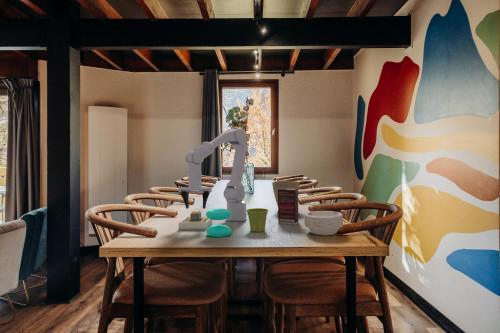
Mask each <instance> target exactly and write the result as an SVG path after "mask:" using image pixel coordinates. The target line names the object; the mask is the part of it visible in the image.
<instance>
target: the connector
mask: <svg viewBox="0 0 500 333" xmlns="http://www.w3.org/2000/svg"><path fill="white" fill-rule="evenodd" d="M189 215H190V216H189V217H190V221H201V217H202V212H201V210H193V211H191V212H190V214H189Z"/></svg>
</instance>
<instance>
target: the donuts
mask: <svg viewBox="0 0 500 333" xmlns="http://www.w3.org/2000/svg"><path fill="white" fill-rule="evenodd" d="M205 215H206V216H205V217H207V218H209V219H211V220H212V221H224V220H225V219H227V218H229V217H230V215H231V212H230V210H228V209H227V208H211V209H208V210H207V211H206V213H205ZM205 231H206V235H207V236H209V237H211V238H223V237H227V236H229V235H231V233H232V229H231V227H230V226H228V225H227V224H211V225H210V227H208V228H207V230H205Z"/></svg>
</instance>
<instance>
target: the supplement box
mask: <svg viewBox="0 0 500 333" xmlns="http://www.w3.org/2000/svg"><path fill="white" fill-rule="evenodd" d="M277 216H278V217H277V220H278V224H282V225H298V224H299V220H300V219H299V190H298V189H285V188H280V189H278V205H277Z"/></svg>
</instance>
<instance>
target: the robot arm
mask: <svg viewBox="0 0 500 333" xmlns="http://www.w3.org/2000/svg"><path fill="white" fill-rule="evenodd" d="M247 138H248V134H247V132H246V131H245V130H244V129H243V128H241V127H239V128H230V129H229V128H228V129H226V130H224V131H223V132H222V133H220V134H219V135H218V136H216V137H215V138H214V139H213V140H211V141H203V142H201V145H199V146H198V147H194V150H190V151H188V152H186V155H185V156H184V158H185V159H184V160H185V162H186V163H187V175H188V176H187V177H188V187H184V186H183V187H178V193H180V196H181V198H182V200H183V202H184V205H185V209H189V208H190V205H189V204H190V202H189V198H190V197H189V195H190V193H201V194H202V195H201V196H202V209H206V208H207V207H206V206H207V201H208V200H209V196H210V194H211V193H212V192H213V190H212V189H213V188H212V187H210V186H209V187H207V186H206V187H205V186H203V184H202V180H203V179H202V163H203V162H204V161H205V160H204V159H206V158H207V157H209V156H210V155H212V154H213V153H214V152H215V149H216V148H217V147H219V146H221V145H223V144H224V143H225V142H226V143H229V145H231V146H232V147H233V148H234V150H235V151H234V155H233V156H234V157H233V160H232V161H233V162H232V168H231V174H230V180H229V181H228V182H227V183H226V186H225V188H224V191H223V197H224V199H225V202H226V209H228V210H230V212H231V215H230V217H229V218H227V219H225V222H245V221H246V220H247V216H248V214H247V212H246V210H247V202H246V201H243V200H244V199H245V196H246V194H245V193H246V192H245V185H244V184H243V173H244V168H245V163H246V162H245V161H246V156H247V149H248V145H247Z"/></svg>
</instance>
